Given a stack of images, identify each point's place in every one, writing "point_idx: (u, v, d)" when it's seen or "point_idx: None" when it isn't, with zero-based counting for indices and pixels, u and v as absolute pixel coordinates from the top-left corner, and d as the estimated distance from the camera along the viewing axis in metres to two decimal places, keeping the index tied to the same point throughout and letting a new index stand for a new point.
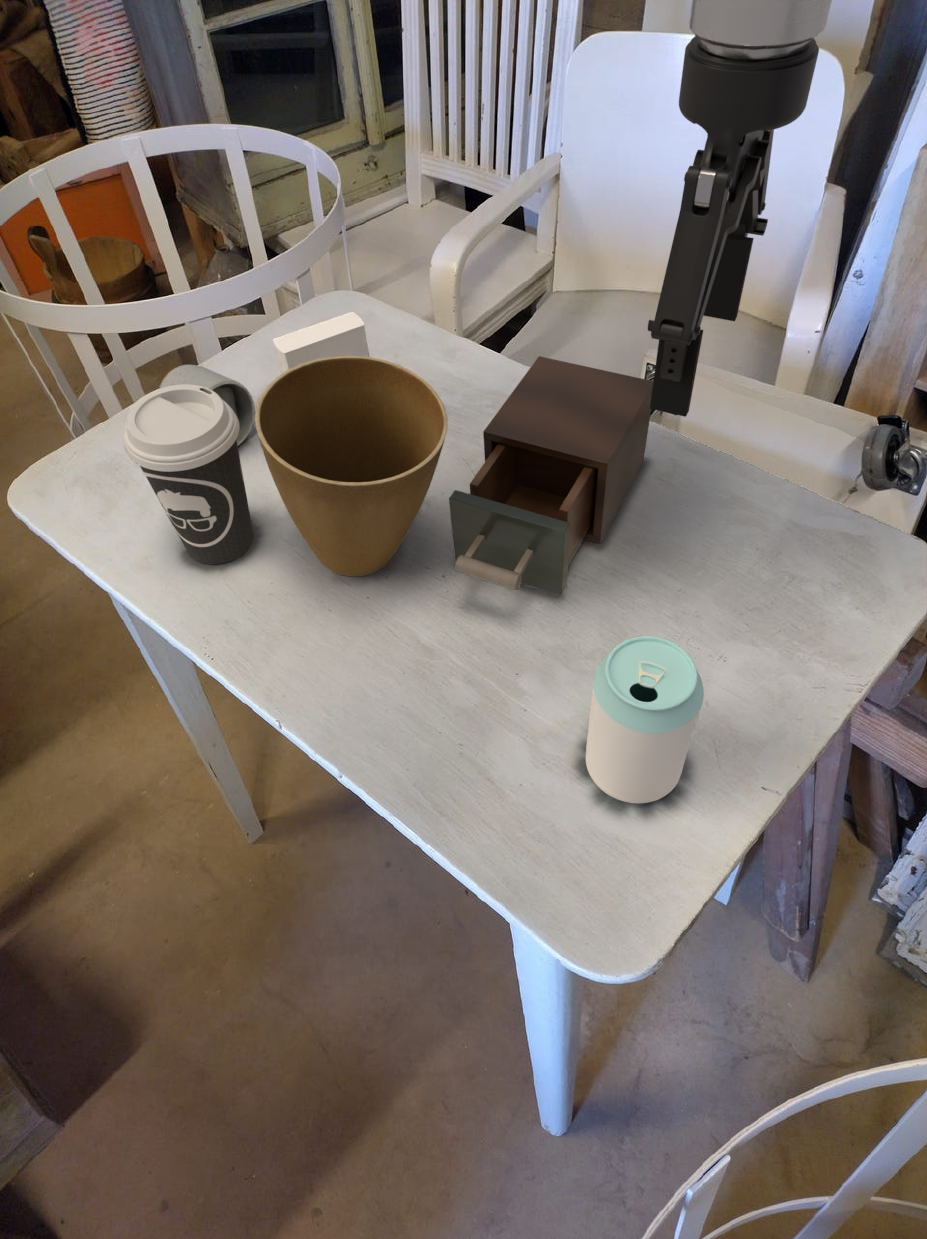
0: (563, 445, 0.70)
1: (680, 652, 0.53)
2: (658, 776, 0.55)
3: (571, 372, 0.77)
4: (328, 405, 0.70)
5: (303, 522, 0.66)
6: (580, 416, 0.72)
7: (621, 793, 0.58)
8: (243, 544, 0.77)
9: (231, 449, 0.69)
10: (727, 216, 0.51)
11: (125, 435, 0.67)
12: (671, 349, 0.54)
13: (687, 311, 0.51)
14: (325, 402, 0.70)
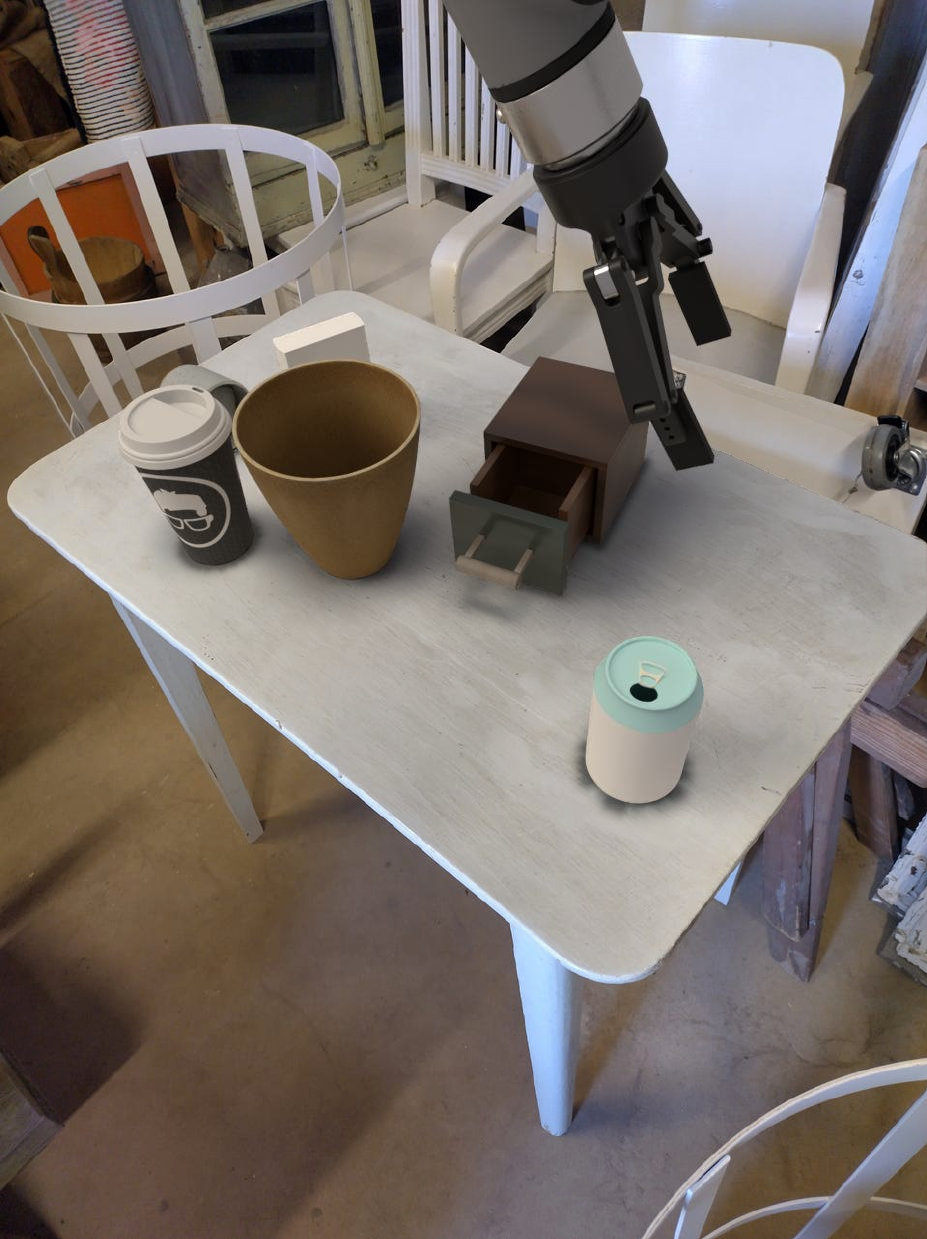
0: (563, 445, 0.70)
1: (680, 652, 0.53)
2: (658, 776, 0.55)
3: (571, 372, 0.77)
4: (310, 412, 0.71)
5: (292, 527, 0.67)
6: (580, 416, 0.72)
7: (621, 793, 0.58)
8: (243, 544, 0.77)
9: (224, 446, 0.69)
10: (647, 283, 0.50)
11: (119, 436, 0.68)
12: (660, 420, 0.53)
13: (650, 389, 0.50)
14: (306, 409, 0.71)
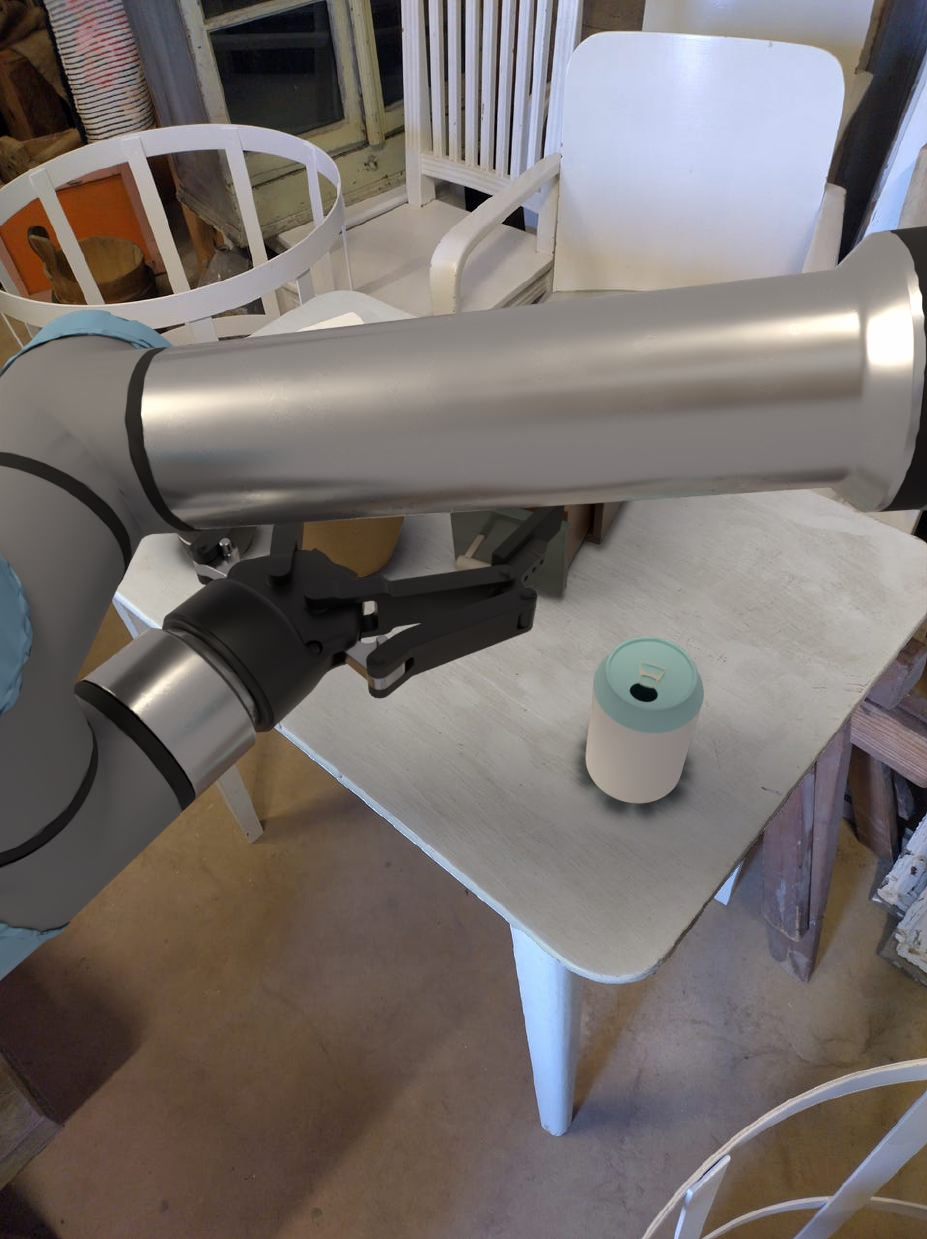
0: None
1: (680, 652, 0.53)
2: (658, 776, 0.55)
3: None
4: None
5: None
6: None
7: (621, 793, 0.58)
8: None
9: None
10: (379, 601, 0.42)
11: None
12: (524, 579, 0.45)
13: (507, 617, 0.42)
14: None
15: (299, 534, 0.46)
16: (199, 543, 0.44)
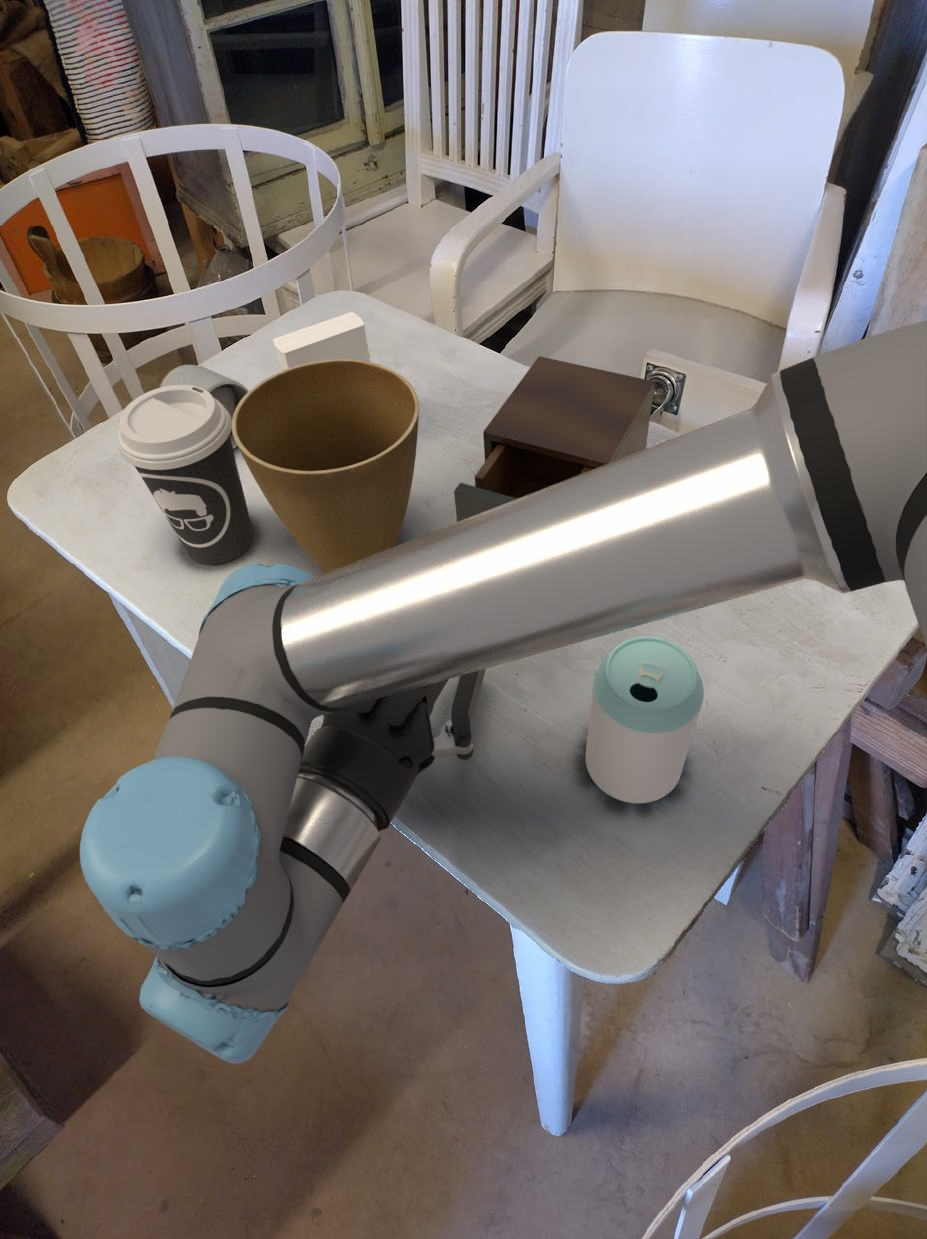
0: (563, 445, 0.70)
1: (680, 652, 0.53)
2: (658, 776, 0.55)
3: (571, 372, 0.77)
4: (310, 412, 0.72)
5: (291, 523, 0.67)
6: (580, 416, 0.72)
7: (621, 793, 0.58)
8: (243, 544, 0.77)
9: (224, 446, 0.69)
10: (426, 693, 0.57)
11: (119, 436, 0.68)
12: None
13: None
14: (306, 410, 0.72)
15: None
16: None
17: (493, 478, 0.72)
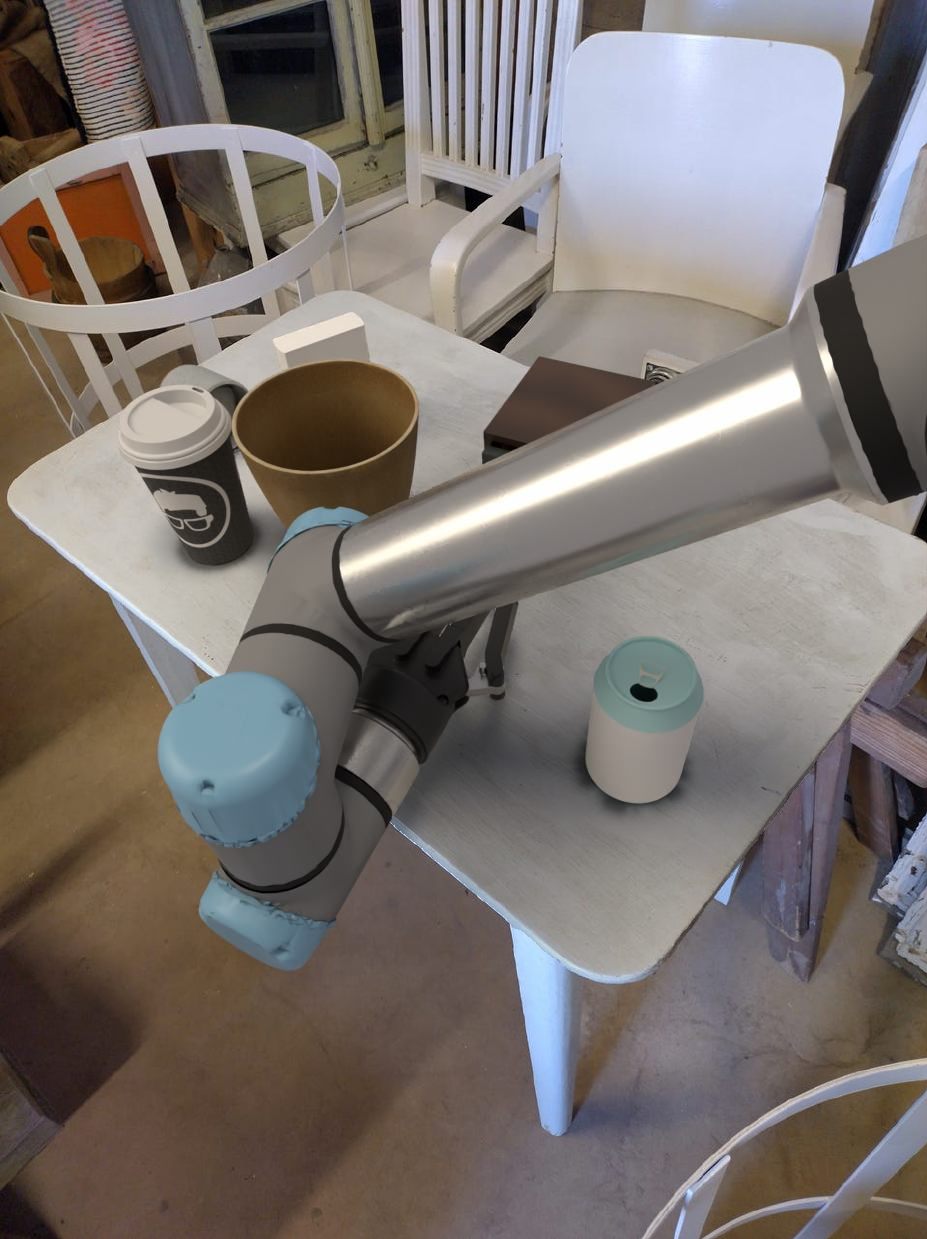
0: None
1: (680, 652, 0.53)
2: (658, 776, 0.55)
3: (571, 372, 0.77)
4: (310, 412, 0.72)
5: (291, 523, 0.67)
6: (580, 416, 0.72)
7: (621, 793, 0.58)
8: (243, 544, 0.77)
9: (224, 446, 0.69)
10: (460, 637, 0.60)
11: (119, 436, 0.68)
12: None
13: (514, 602, 0.62)
14: (306, 410, 0.72)
15: None
16: None
17: None
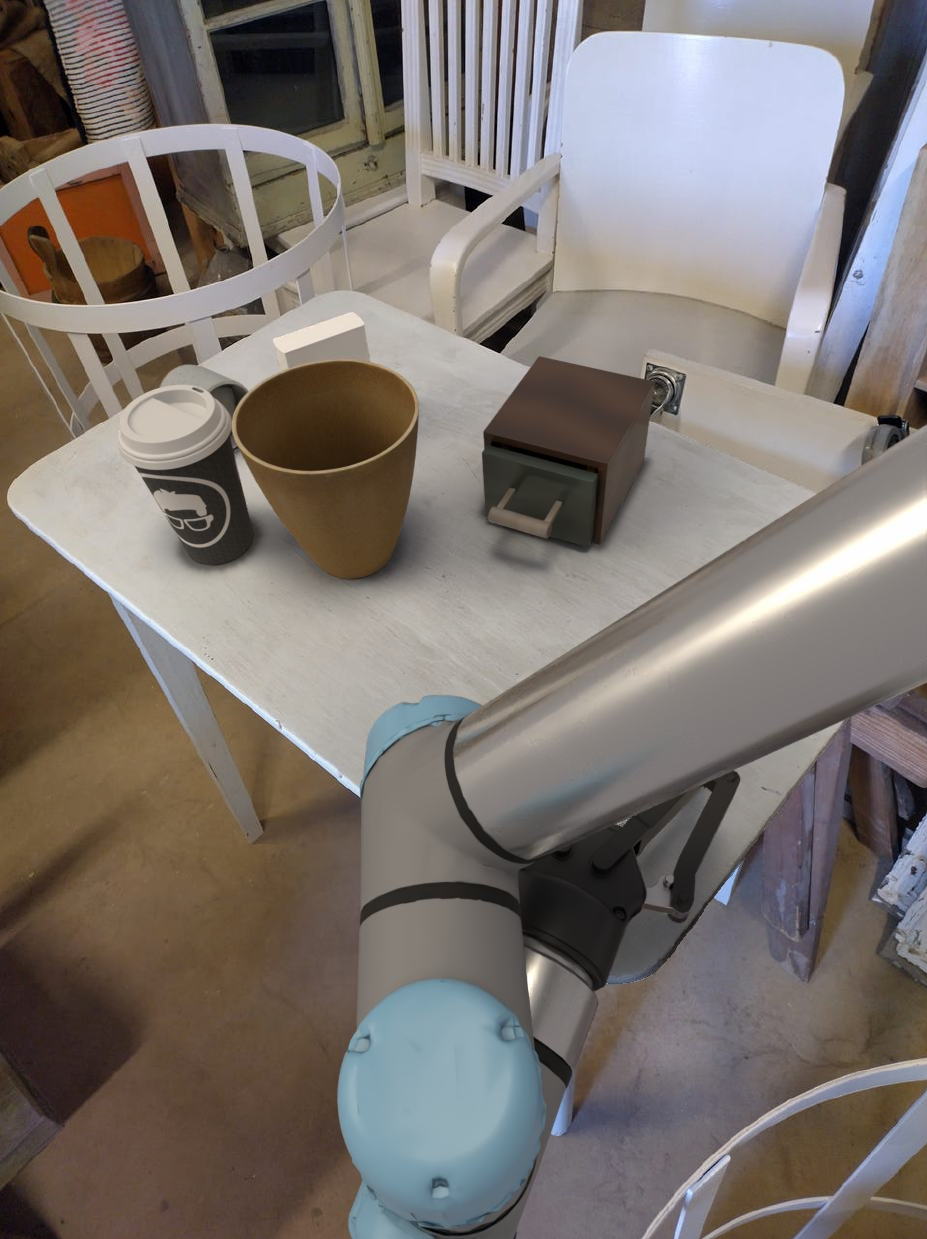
0: (563, 445, 0.70)
1: None
2: None
3: (571, 372, 0.77)
4: (310, 412, 0.72)
5: (291, 523, 0.67)
6: (580, 416, 0.72)
7: None
8: (243, 544, 0.77)
9: (224, 446, 0.69)
10: (643, 837, 0.49)
11: (119, 436, 0.68)
12: None
13: (729, 803, 0.51)
14: (306, 410, 0.72)
15: None
16: None
17: None
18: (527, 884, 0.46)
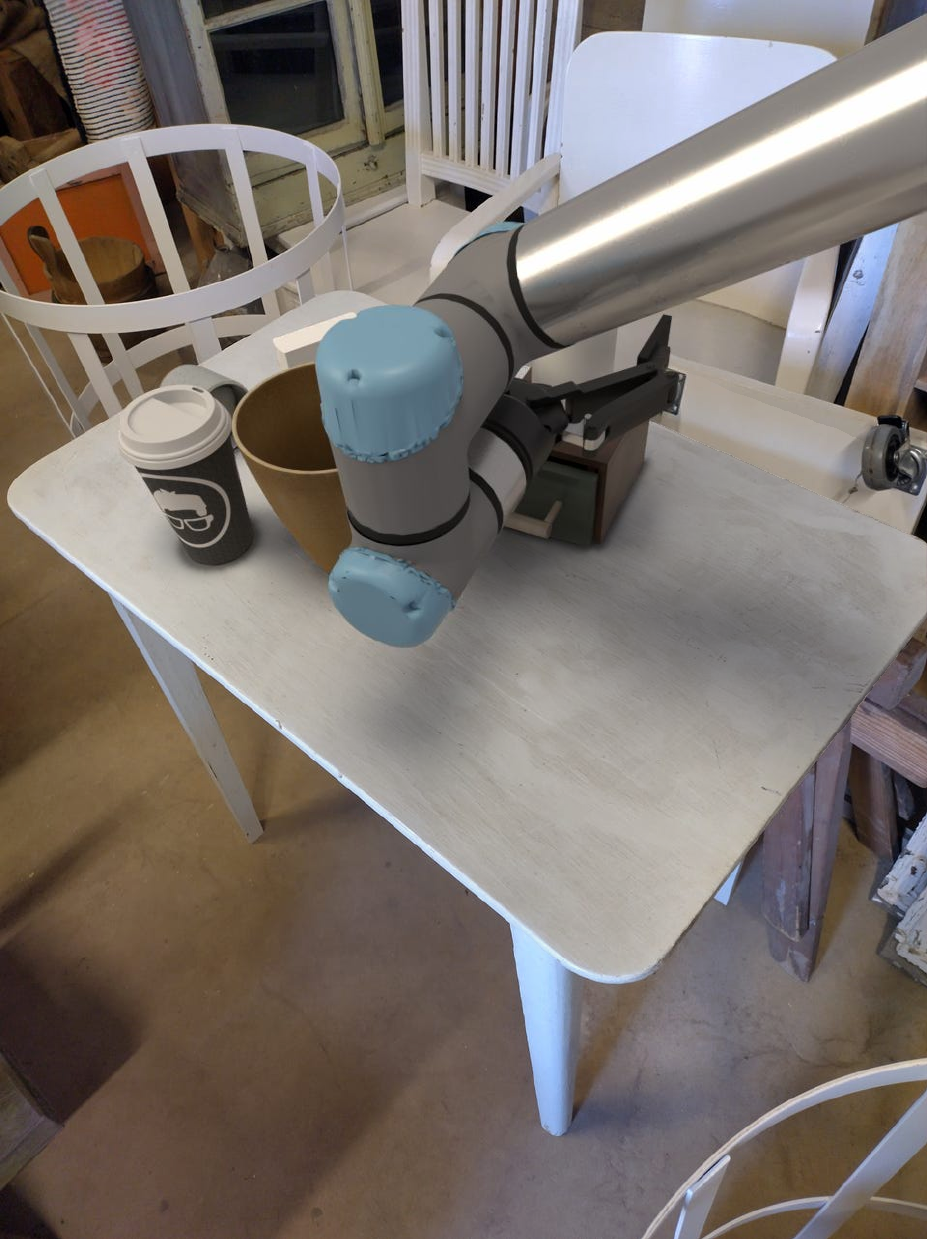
0: (563, 445, 0.70)
1: None
2: None
3: None
4: (310, 412, 0.72)
5: (291, 523, 0.67)
6: None
7: None
8: (243, 544, 0.77)
9: (224, 446, 0.69)
10: (575, 397, 0.61)
11: (119, 436, 0.68)
12: None
13: (662, 391, 0.61)
14: (306, 410, 0.72)
15: None
16: None
17: None
18: None
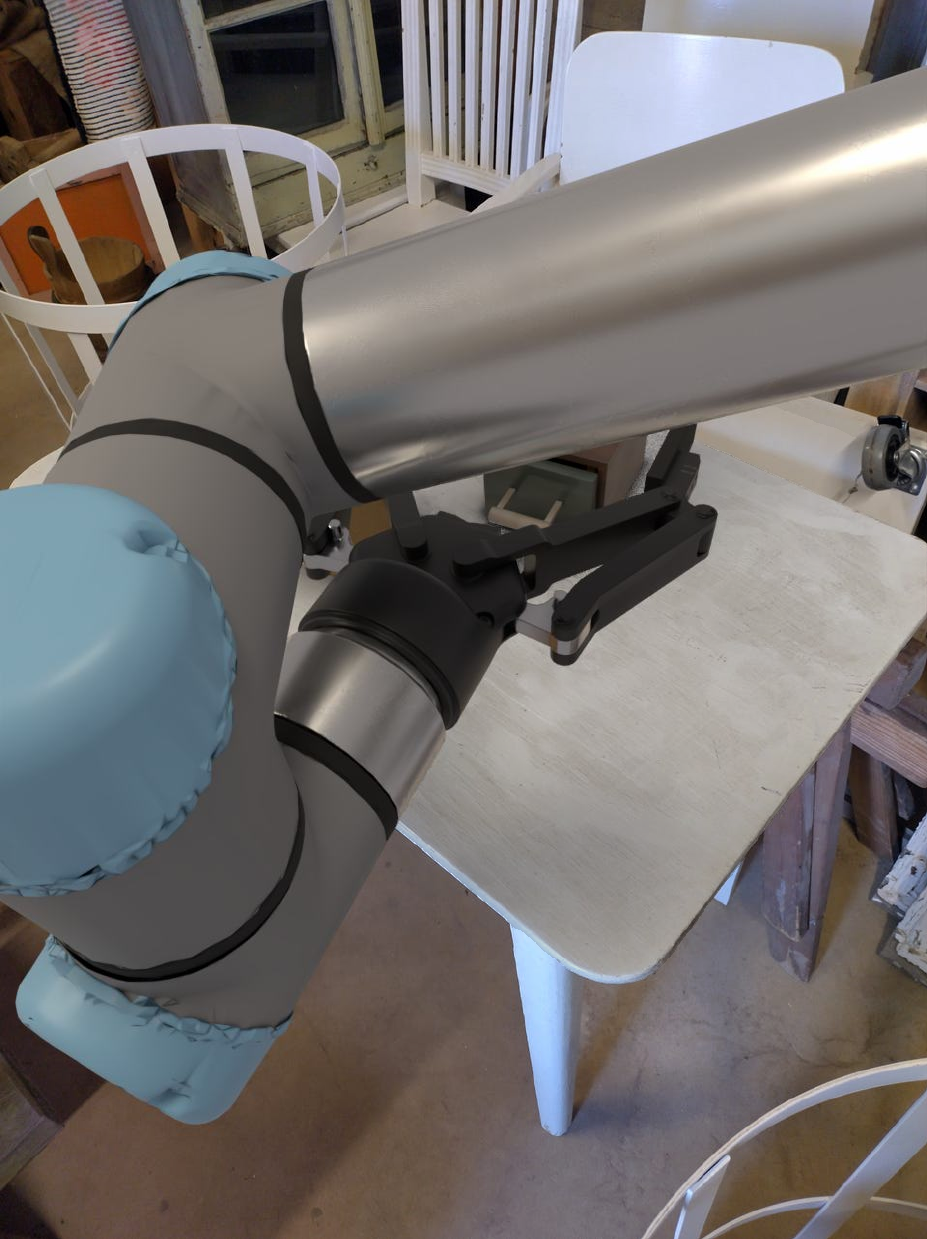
0: None
1: None
2: None
3: None
4: None
5: None
6: None
7: None
8: None
9: None
10: (539, 553, 0.35)
11: None
12: None
13: (690, 543, 0.35)
14: None
15: None
16: None
17: None
18: (351, 571, 0.32)
